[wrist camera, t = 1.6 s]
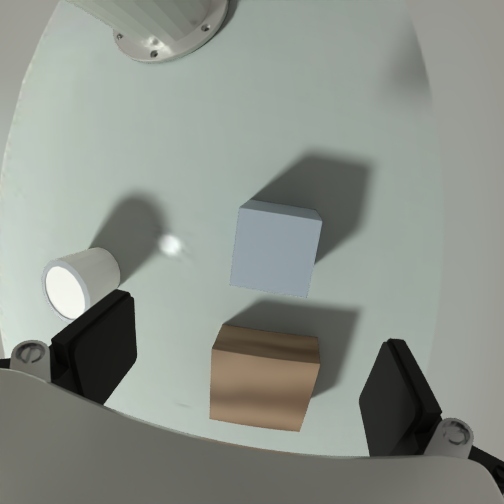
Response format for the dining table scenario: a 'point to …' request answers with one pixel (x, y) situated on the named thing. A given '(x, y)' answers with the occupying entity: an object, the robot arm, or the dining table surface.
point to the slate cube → (275, 248)
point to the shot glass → (79, 281)
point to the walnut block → (262, 377)
